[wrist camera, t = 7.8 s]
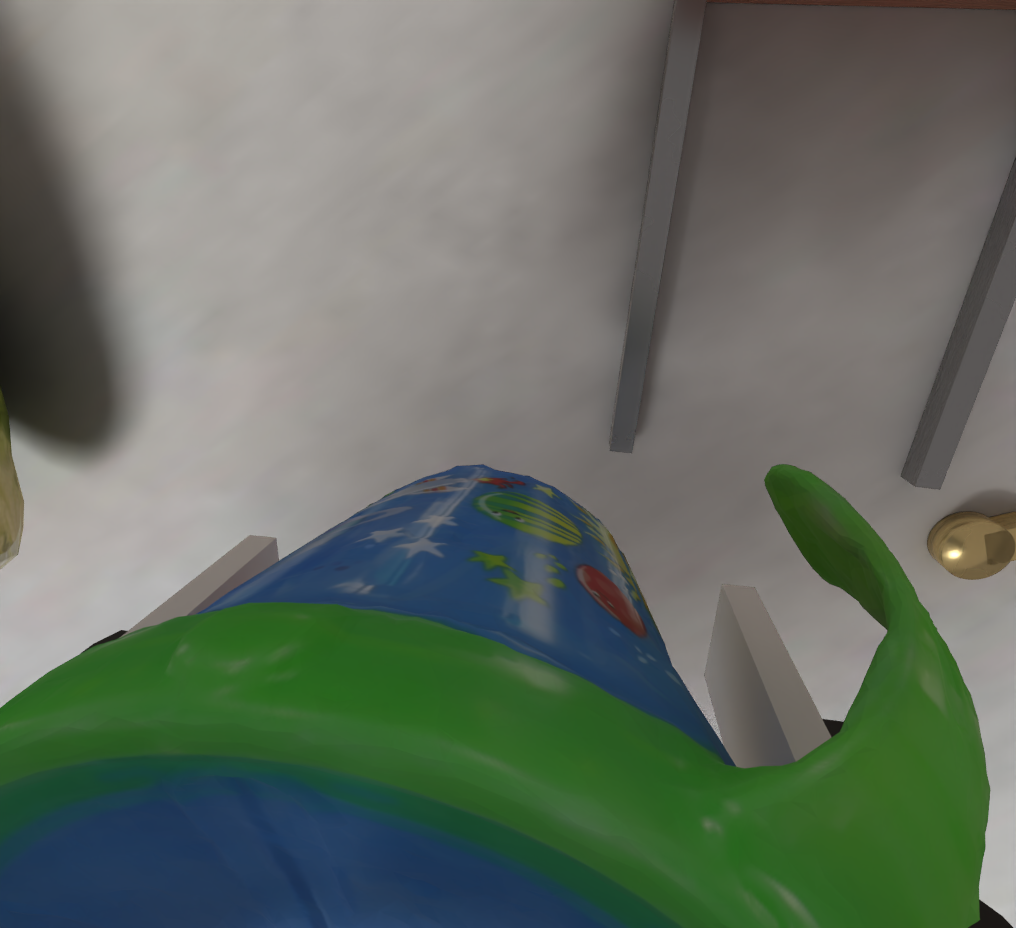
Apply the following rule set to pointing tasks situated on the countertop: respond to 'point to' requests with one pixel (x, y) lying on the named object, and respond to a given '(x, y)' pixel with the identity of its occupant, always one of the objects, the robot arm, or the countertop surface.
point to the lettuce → (8, 494)
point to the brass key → (974, 543)
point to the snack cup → (482, 746)
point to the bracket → (995, 284)
